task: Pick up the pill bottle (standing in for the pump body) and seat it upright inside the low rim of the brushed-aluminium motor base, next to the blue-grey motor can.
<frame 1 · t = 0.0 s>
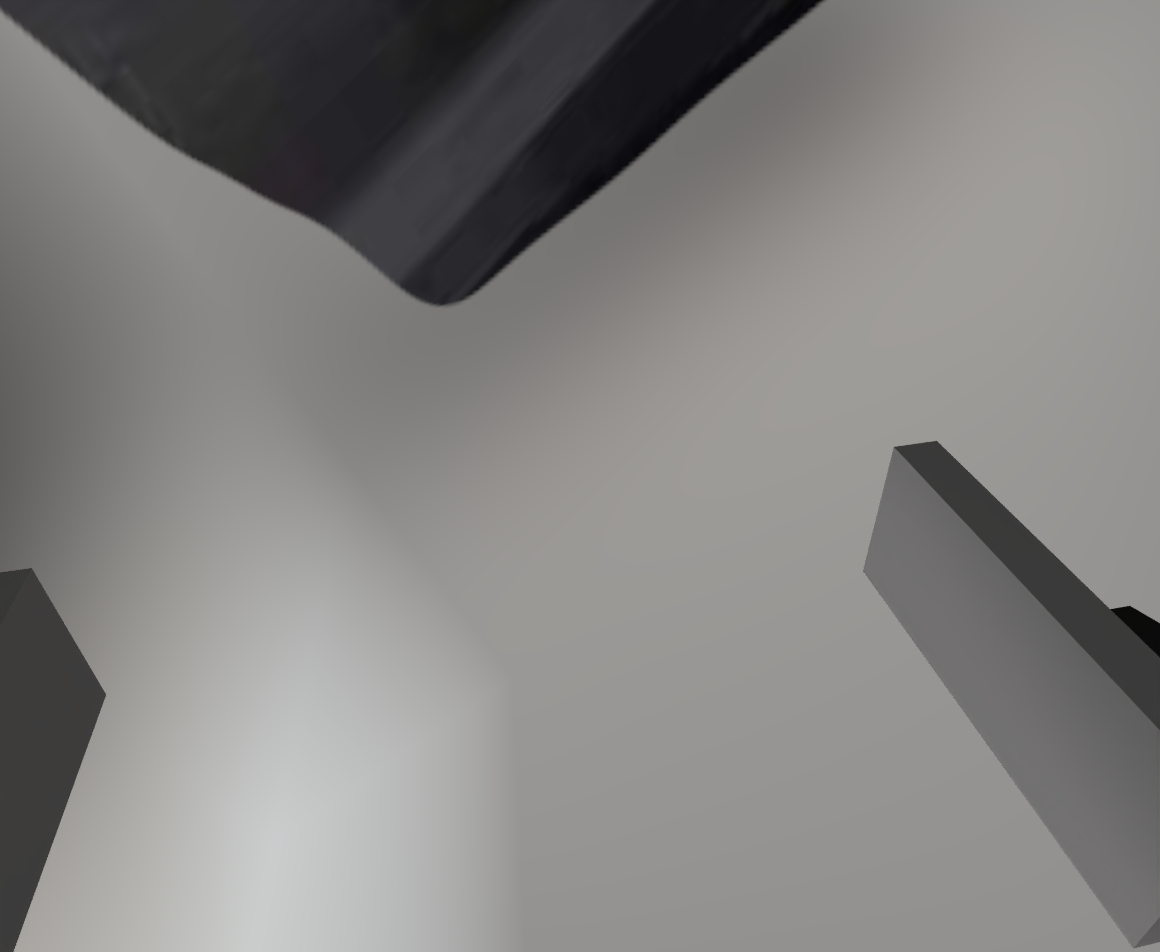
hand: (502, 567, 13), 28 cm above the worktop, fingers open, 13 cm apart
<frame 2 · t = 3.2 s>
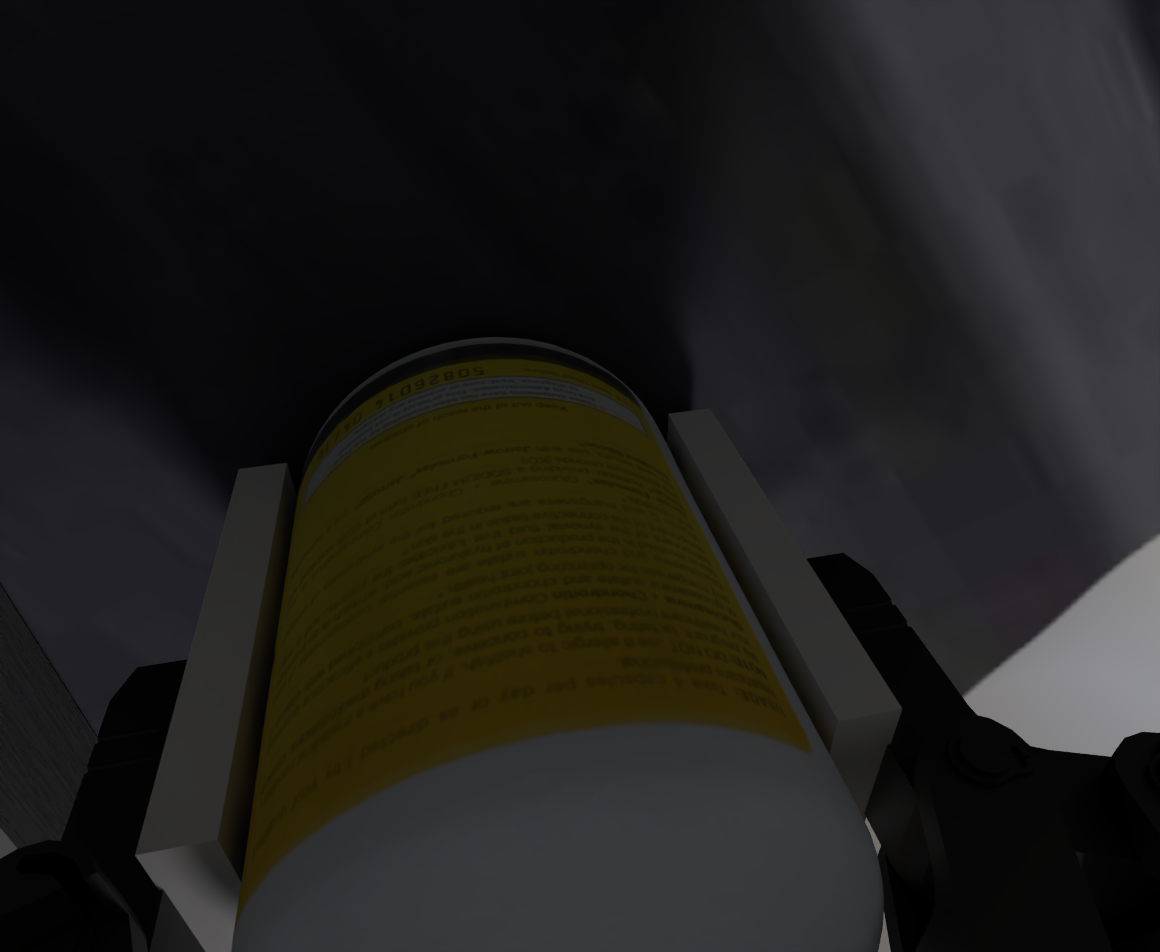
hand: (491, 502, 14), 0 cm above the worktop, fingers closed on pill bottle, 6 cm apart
pill bottle: (488, 479, 15), on the worktop, touching gripper
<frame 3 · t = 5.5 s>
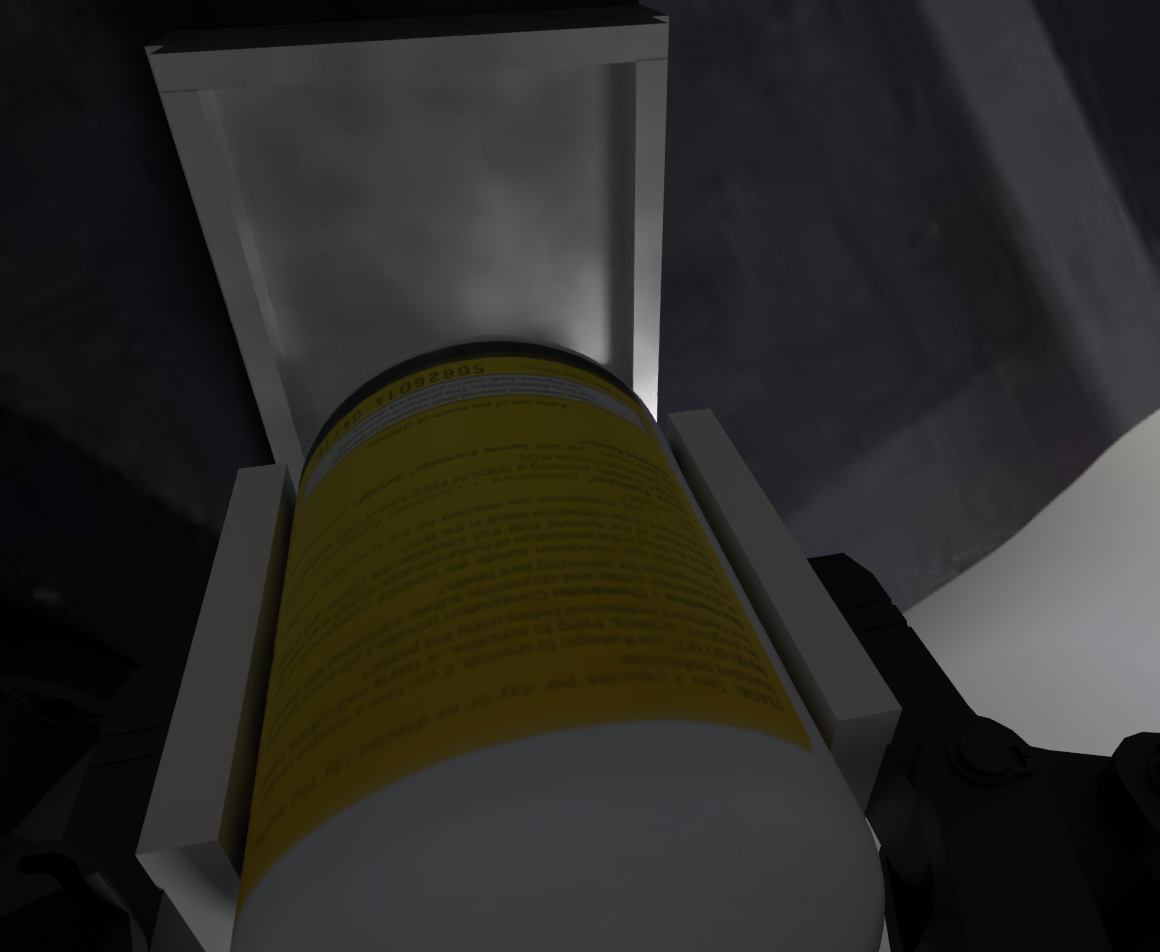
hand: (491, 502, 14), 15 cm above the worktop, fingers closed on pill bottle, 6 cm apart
pill bottle: (488, 477, 15), point 14 cm above the worktop, touching gripper
motor base: (457, 327, 28), on the worktop
when the fingers open (5 cm above the worktop, at t = 8.0 s): pill bottle drops 1 cm, resting on motor base.
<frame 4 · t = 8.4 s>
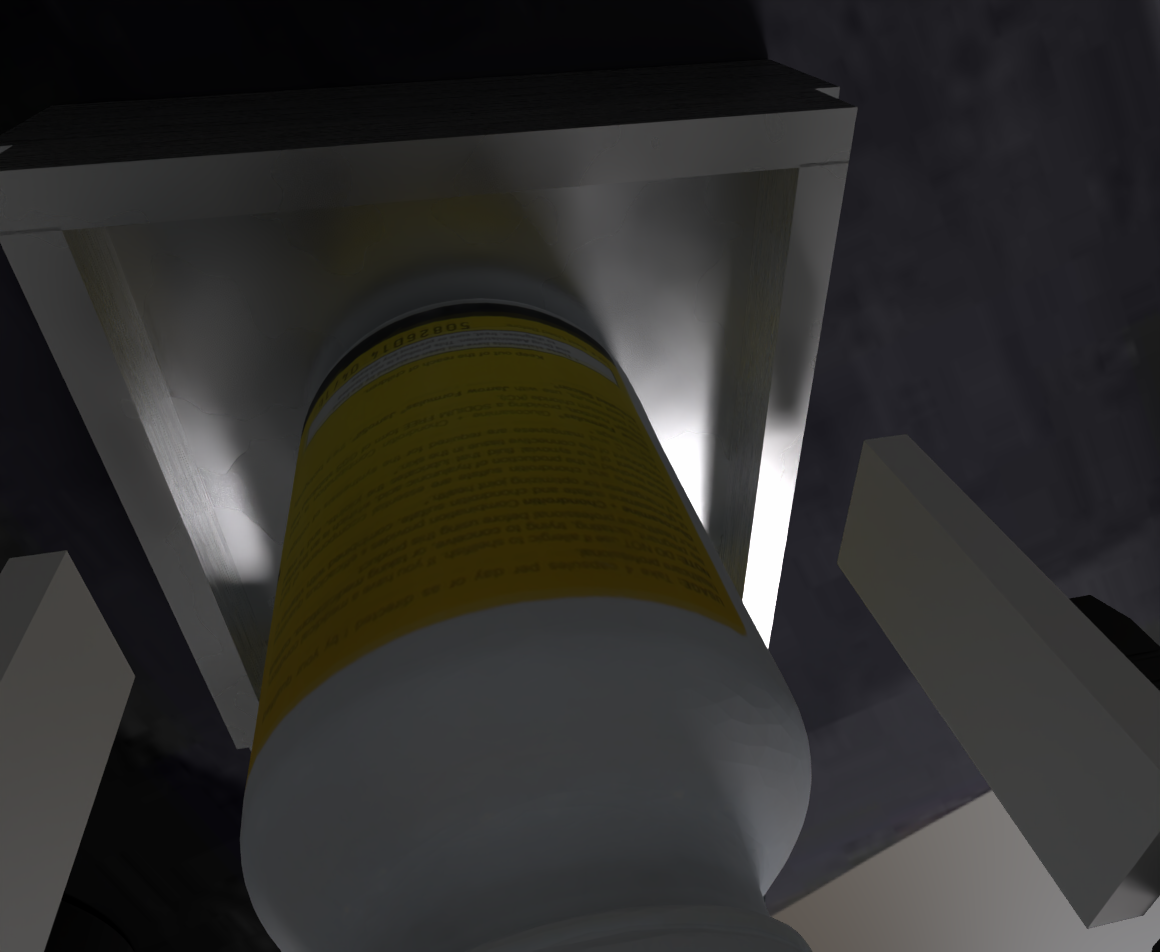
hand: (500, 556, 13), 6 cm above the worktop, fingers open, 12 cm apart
pill bottle: (476, 436, 16), point 3 cm above the worktop, touching motor base
motor base: (484, 494, 20), on the worktop
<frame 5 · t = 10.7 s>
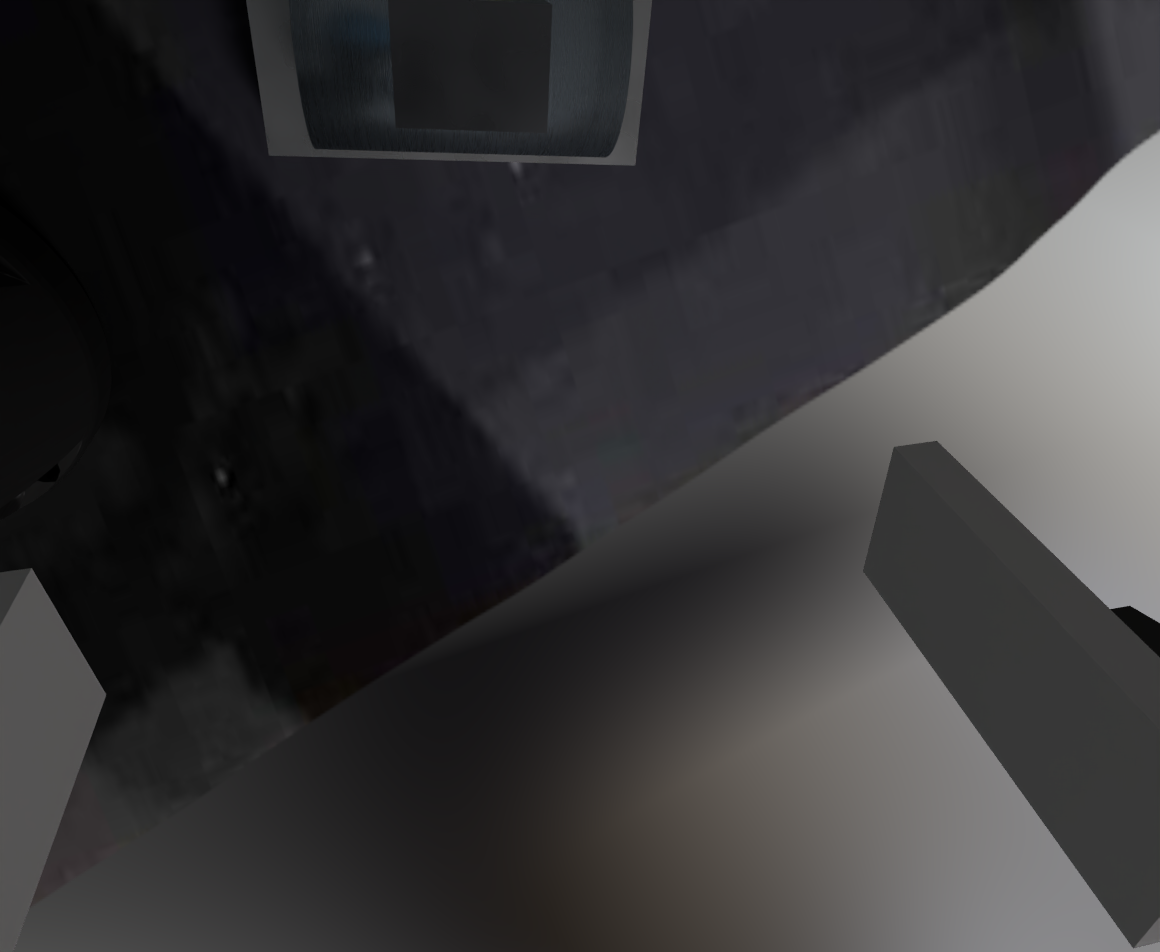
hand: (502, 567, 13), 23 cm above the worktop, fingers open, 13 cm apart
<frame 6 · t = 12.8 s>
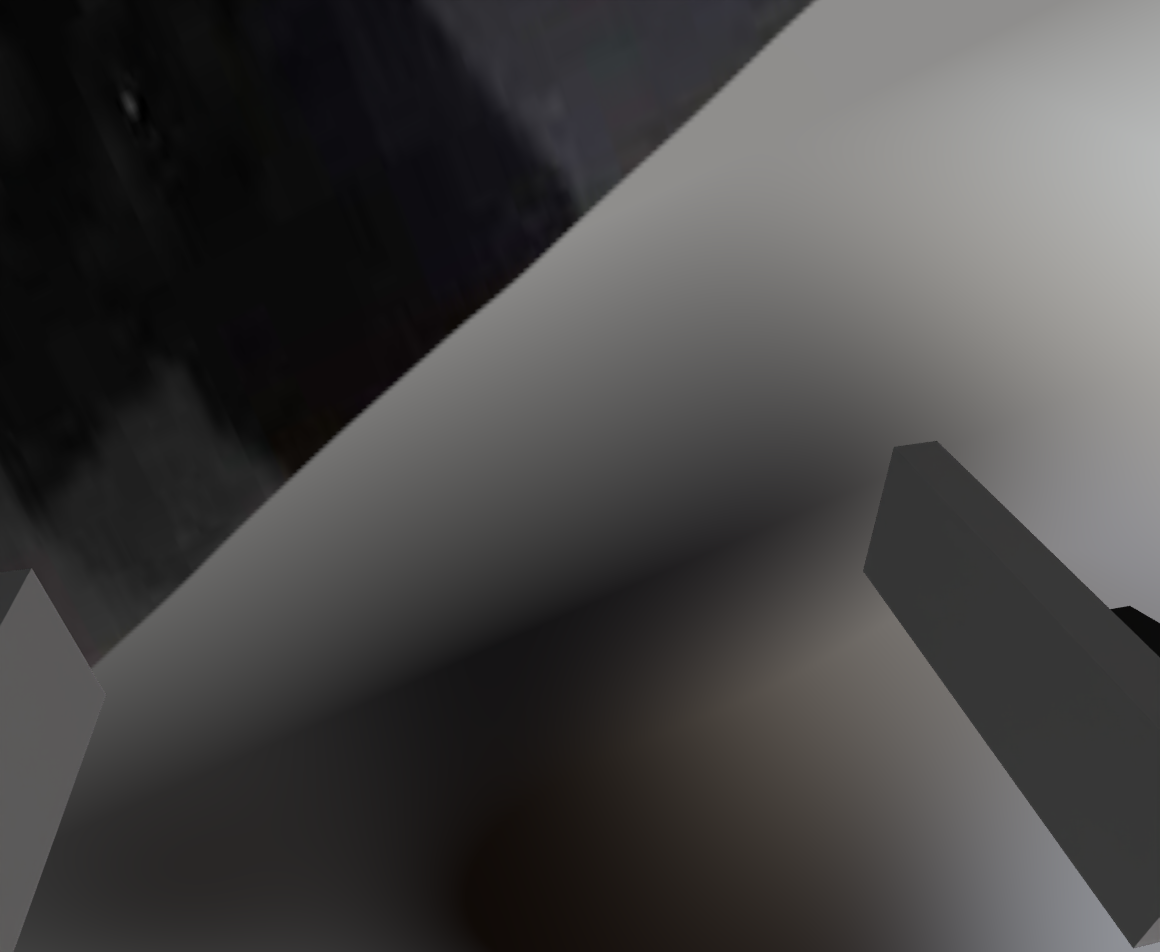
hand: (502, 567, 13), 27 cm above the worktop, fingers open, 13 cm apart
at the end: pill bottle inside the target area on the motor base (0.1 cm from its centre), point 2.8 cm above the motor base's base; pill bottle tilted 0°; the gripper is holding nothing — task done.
